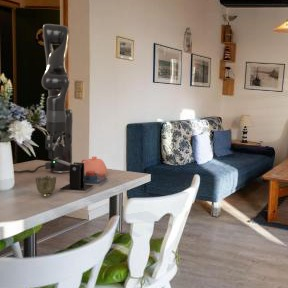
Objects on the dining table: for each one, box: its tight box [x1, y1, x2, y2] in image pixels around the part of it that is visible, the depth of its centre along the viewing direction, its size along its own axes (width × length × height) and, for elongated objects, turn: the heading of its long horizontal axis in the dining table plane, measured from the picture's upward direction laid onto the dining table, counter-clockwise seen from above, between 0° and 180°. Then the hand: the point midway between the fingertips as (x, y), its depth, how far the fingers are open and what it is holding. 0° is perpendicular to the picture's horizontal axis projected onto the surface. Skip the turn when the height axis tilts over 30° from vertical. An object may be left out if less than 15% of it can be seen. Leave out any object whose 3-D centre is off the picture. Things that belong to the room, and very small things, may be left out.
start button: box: [86, 171, 95, 176], centre depth 179 cm, size 4×4×2 cm
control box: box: [84, 173, 108, 185], centre depth 179 cm, size 12×10×4 cm
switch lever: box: [50, 157, 82, 167], centre depth 165 cm, size 12×5×2 cm, turn 92°
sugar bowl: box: [80, 156, 108, 176], centre depth 192 cm, size 12×14×10 cm
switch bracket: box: [59, 161, 94, 192], centre depth 166 cm, size 11×9×12 cm
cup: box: [35, 175, 57, 197], centre depth 153 cm, size 8×7×8 cm
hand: (56, 156), depth 164 cm, fingers open, 8 cm apart
